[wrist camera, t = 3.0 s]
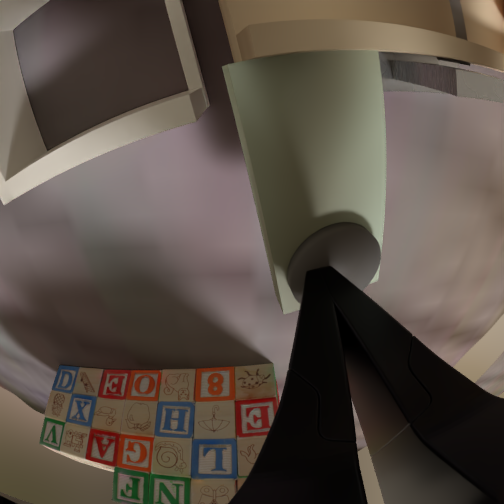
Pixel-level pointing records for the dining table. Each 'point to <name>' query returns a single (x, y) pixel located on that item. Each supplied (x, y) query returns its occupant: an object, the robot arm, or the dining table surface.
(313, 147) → the lever
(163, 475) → the stack of blocks
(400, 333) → the robot arm
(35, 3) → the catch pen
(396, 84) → the fulcrum
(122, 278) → the dining table surface
